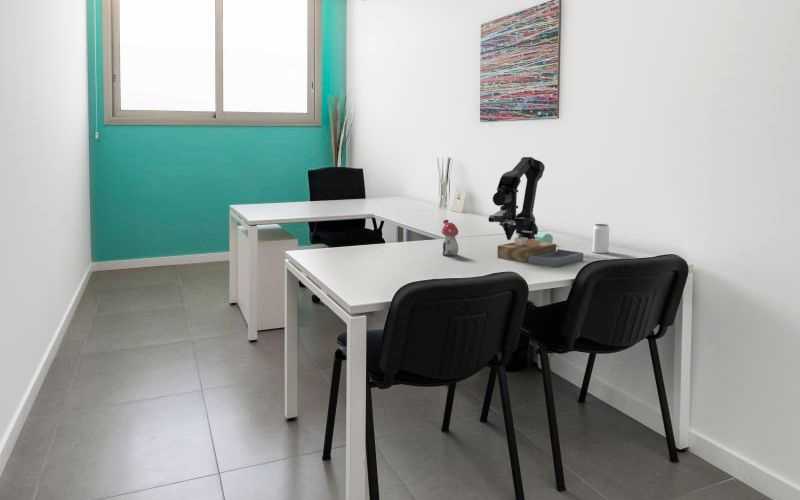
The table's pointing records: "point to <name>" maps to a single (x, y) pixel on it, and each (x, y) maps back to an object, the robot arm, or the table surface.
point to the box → (556, 258)
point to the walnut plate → (524, 251)
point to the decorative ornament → (450, 239)
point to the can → (600, 238)
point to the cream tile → (520, 241)
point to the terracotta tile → (533, 242)
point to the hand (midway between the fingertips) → (508, 239)
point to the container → (543, 237)
